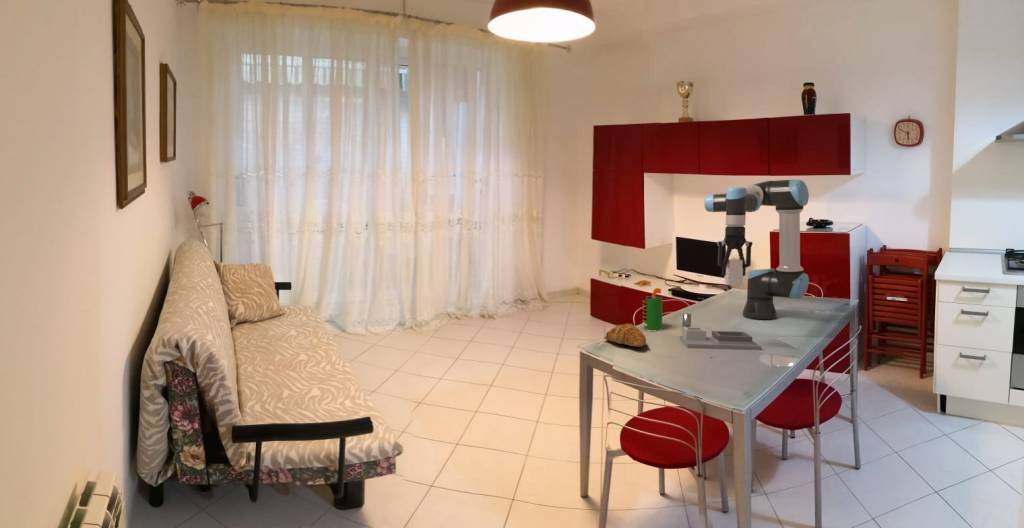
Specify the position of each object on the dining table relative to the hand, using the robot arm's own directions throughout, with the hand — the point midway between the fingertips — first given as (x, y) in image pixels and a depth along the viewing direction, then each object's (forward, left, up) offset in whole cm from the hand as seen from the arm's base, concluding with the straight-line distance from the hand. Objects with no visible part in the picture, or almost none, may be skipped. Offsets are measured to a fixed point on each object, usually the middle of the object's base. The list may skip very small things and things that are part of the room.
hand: (733, 283), depth 251 cm
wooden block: (0, 0, 0) cm, 0 cm away
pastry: (+42, +2, -25) cm, 49 cm away
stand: (+5, 0, -25) cm, 25 cm away
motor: (+29, -25, -25) cm, 45 cm away
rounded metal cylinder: (+15, -16, -25) cm, 33 cm away
